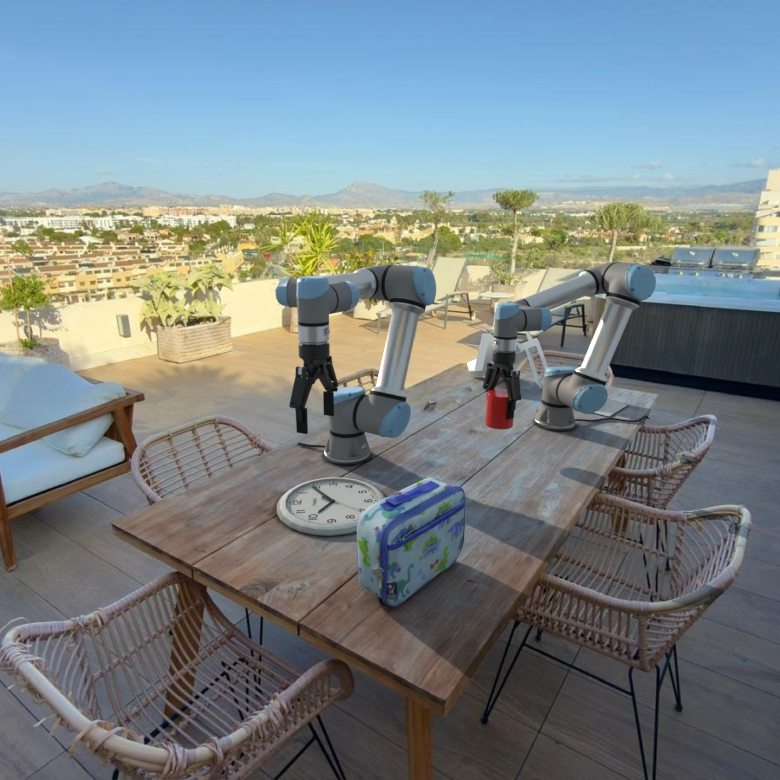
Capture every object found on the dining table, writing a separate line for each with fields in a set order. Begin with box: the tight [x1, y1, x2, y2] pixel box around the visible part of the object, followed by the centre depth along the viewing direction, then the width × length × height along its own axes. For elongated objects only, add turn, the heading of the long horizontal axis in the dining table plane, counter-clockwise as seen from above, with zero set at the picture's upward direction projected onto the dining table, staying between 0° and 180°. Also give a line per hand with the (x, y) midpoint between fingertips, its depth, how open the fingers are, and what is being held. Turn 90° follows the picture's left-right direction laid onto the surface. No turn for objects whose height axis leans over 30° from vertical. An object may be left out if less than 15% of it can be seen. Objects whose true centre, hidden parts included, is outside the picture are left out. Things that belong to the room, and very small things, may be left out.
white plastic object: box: [466, 331, 549, 390], centre depth 259 cm, size 37×45×31 cm
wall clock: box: [276, 476, 386, 537], centre depth 142 cm, size 30×2×30 cm
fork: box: [423, 395, 437, 411], centre depth 224 cm, size 3×16×2 cm, turn 160°
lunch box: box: [356, 476, 466, 608], centre depth 110 cm, size 26×11×21 cm, turn 134°
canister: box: [485, 388, 514, 430], centre depth 179 cm, size 9×9×12 cm
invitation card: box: [594, 399, 629, 418], centre depth 226 cm, size 21×1×15 cm
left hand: (316, 423), depth 133 cm, fingers open, 13 cm apart
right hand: (499, 414), depth 179 cm, fingers closed on canister, 9 cm apart
